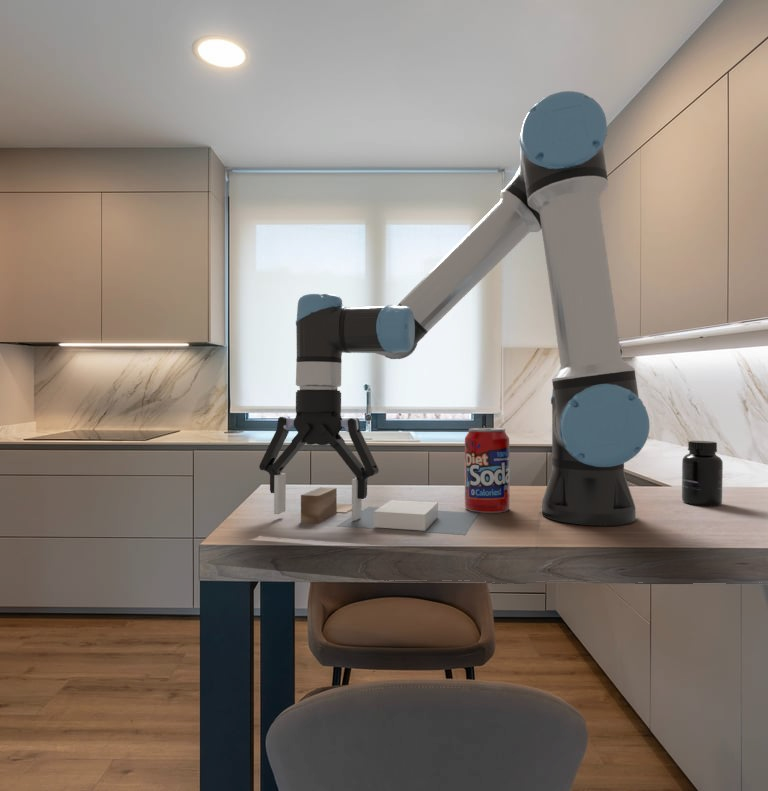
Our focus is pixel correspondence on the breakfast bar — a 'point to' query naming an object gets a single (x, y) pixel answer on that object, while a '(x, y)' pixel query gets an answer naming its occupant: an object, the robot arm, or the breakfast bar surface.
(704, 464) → the supplement bottle
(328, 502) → the block with thin plate
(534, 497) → the breakfast bar surface
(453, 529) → the mat
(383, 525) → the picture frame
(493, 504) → the soda can
